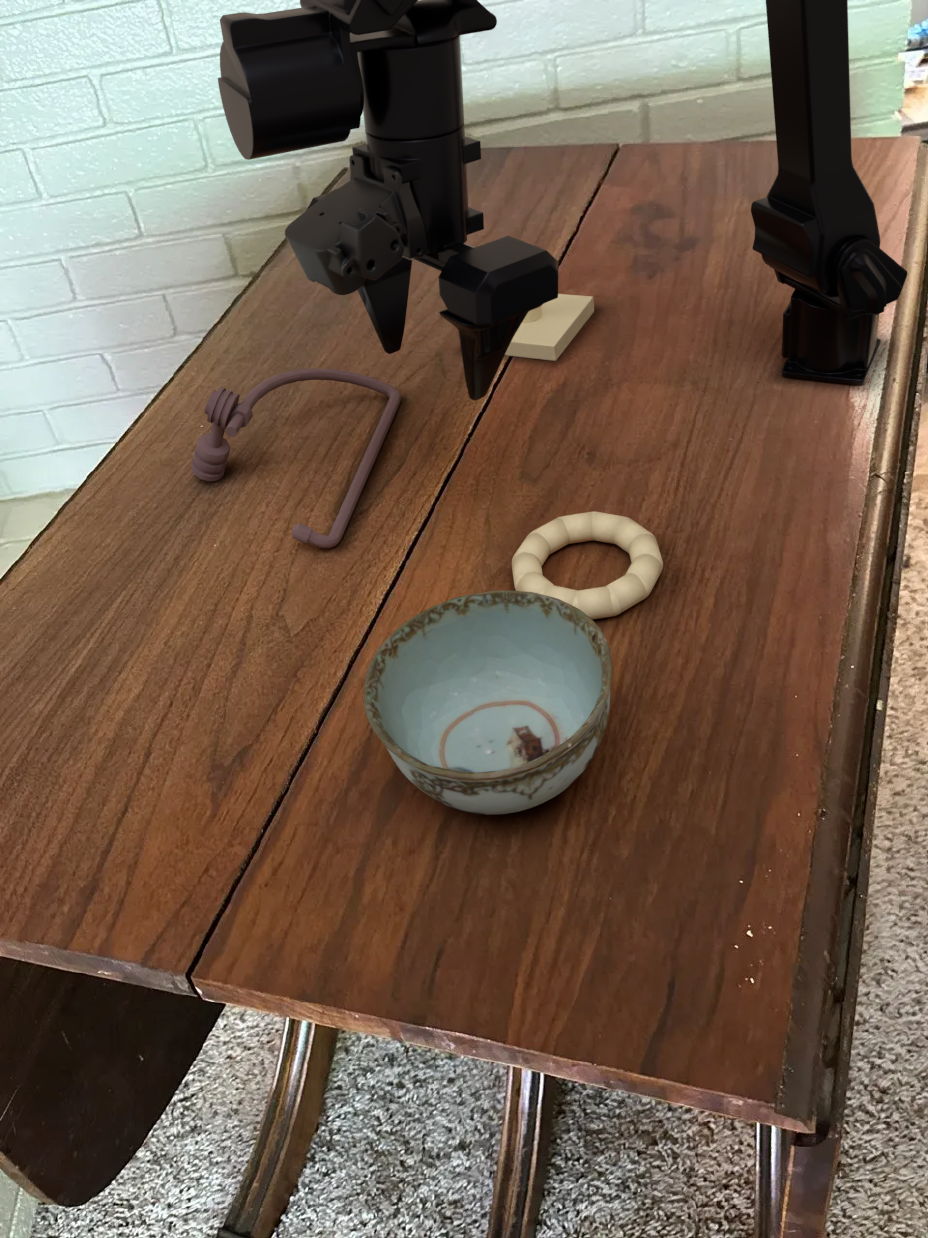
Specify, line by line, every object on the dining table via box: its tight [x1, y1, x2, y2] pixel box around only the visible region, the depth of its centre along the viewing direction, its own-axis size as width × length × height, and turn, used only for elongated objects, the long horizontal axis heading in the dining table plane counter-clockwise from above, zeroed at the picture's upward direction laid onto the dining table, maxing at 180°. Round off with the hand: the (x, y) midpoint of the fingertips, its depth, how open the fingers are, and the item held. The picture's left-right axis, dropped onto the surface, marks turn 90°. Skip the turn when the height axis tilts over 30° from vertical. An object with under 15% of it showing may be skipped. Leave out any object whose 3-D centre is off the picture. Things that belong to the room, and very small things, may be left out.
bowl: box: [362, 590, 613, 815], centre depth 60 cm, size 14×13×8 cm
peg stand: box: [504, 293, 595, 362], centre depth 97 cm, size 9×9×6 cm
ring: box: [511, 510, 664, 620], centre depth 73 cm, size 10×10×2 cm
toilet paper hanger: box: [190, 367, 402, 549], centre depth 88 cm, size 22×8×14 cm
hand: (433, 373), depth 72 cm, fingers open, 9 cm apart
